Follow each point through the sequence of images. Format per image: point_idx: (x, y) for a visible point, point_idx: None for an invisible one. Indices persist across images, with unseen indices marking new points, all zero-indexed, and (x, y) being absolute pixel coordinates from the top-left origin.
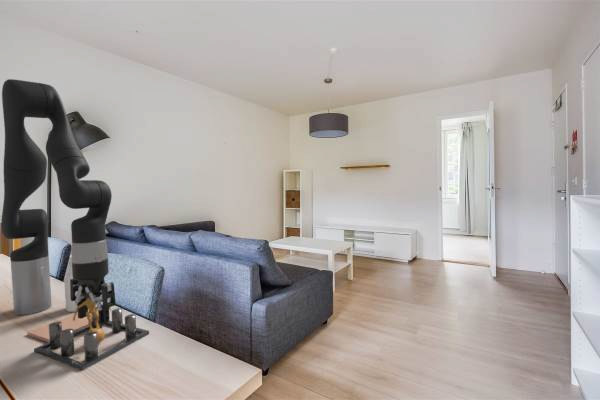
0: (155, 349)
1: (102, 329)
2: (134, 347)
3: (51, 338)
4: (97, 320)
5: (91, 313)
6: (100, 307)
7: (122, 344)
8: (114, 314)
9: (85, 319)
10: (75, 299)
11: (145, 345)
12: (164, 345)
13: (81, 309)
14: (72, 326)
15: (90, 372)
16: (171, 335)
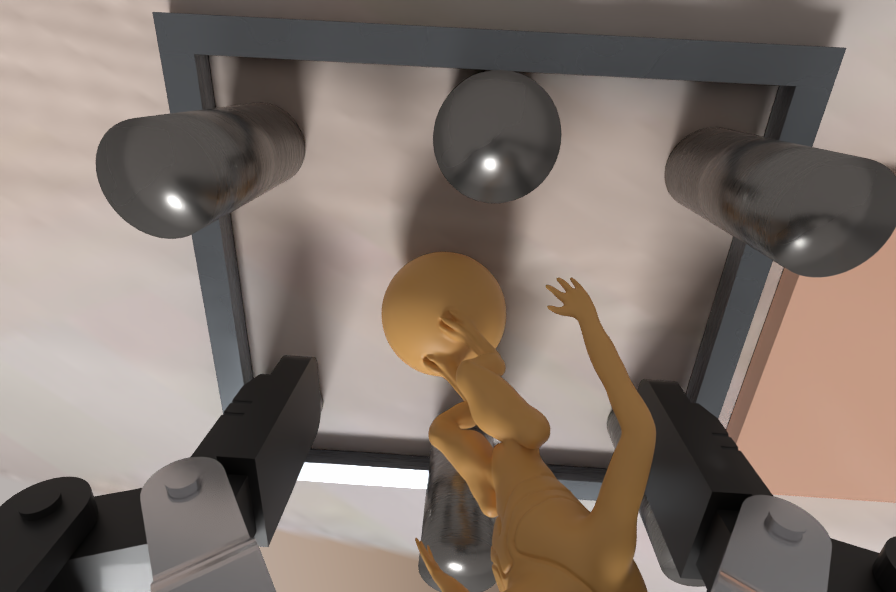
0: (27, 353)
1: (420, 371)
2: (162, 333)
3: (748, 140)
4: (451, 409)
5: (501, 443)
6: (159, 492)
7: (215, 319)
8: (441, 523)
9: (826, 474)
10: (868, 578)
11: (126, 367)
12: (29, 397)
13: (674, 462)
14: (837, 384)
15: (94, 22)
16: (108, 479)
